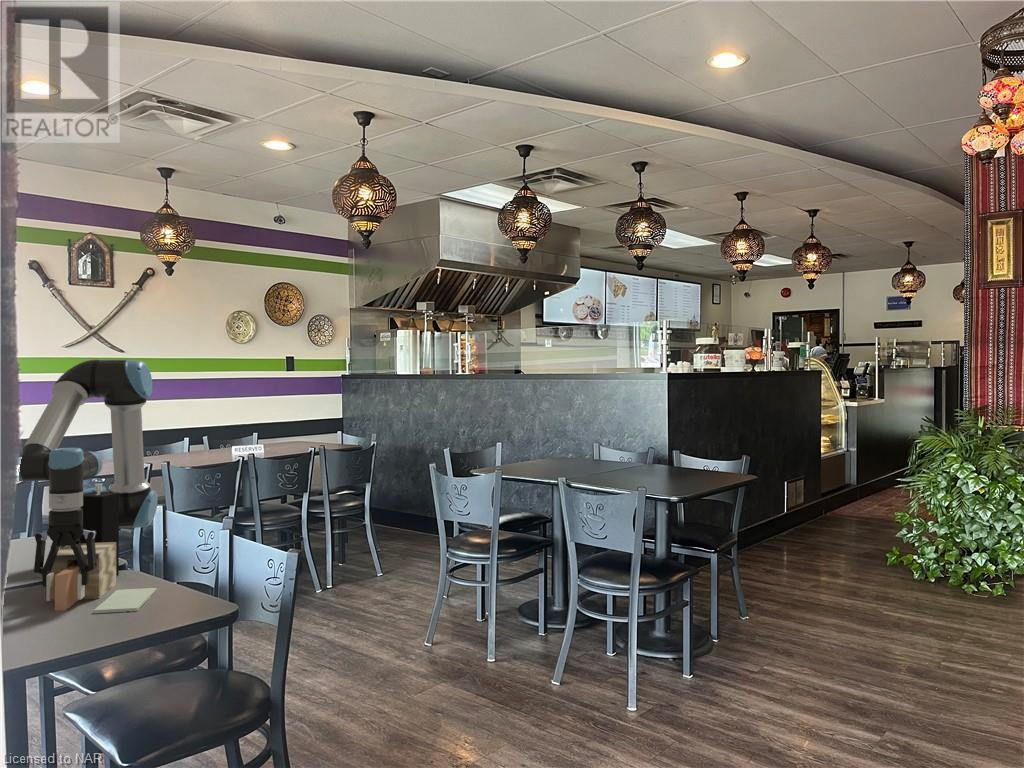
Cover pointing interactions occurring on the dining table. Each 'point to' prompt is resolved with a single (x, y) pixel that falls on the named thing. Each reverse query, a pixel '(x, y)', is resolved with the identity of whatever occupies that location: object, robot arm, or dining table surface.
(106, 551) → the brown boxy piece
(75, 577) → the tan rectangular slab
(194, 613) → the dining table surface
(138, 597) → the mat
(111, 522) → the black tall rectangular block
